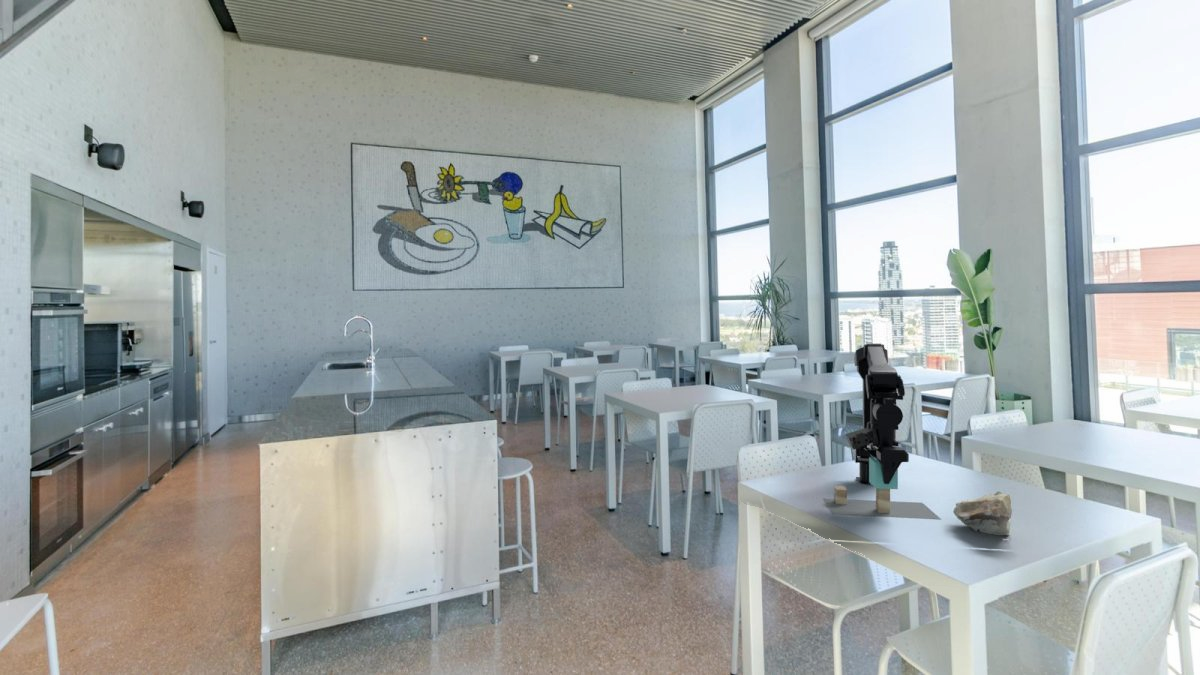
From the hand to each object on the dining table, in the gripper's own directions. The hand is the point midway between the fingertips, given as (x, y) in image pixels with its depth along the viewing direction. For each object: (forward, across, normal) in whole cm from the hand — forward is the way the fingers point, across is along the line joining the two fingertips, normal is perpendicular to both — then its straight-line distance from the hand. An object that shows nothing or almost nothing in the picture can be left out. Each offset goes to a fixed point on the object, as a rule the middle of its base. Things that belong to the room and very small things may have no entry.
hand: (882, 480), depth 138 cm
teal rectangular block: (+1, 0, 0) cm, 1 cm away
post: (+8, 0, 0) cm, 8 cm away
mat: (+8, -2, 0) cm, 8 cm away
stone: (+8, +10, +18) cm, 22 cm away
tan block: (+8, -5, -9) cm, 13 cm away
